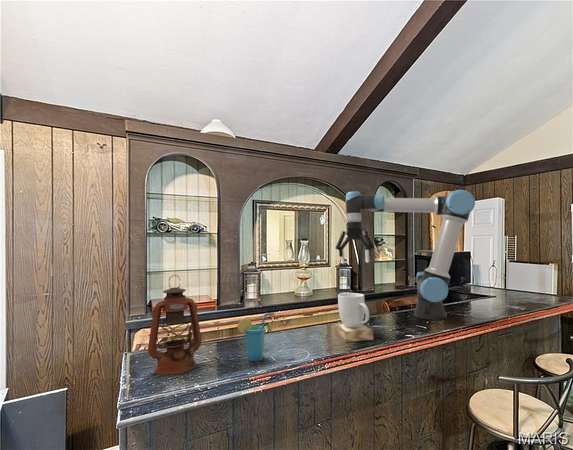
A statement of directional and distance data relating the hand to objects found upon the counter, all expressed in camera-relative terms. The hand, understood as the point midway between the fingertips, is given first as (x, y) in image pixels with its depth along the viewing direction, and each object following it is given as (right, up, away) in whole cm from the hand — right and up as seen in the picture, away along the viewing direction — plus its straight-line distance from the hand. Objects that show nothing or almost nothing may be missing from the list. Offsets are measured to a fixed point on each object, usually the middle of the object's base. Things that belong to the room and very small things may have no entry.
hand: (355, 262), depth 164 cm
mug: (-7, -23, -31) cm, 39 cm away
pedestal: (-7, -27, -31) cm, 42 cm away
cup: (-46, -27, -53) cm, 75 cm away
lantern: (-72, -27, -60) cm, 97 cm away
